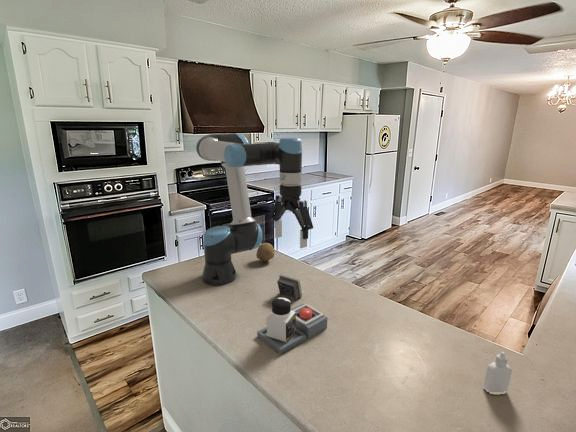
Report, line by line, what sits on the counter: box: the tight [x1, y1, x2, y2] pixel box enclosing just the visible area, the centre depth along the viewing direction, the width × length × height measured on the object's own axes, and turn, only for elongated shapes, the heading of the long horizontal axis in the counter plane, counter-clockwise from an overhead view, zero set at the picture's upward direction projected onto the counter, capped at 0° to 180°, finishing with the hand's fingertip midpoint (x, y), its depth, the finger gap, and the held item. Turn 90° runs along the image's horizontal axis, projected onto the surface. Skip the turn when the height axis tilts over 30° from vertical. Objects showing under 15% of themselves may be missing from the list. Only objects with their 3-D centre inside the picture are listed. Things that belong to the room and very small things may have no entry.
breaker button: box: [299, 308, 312, 321], centre depth 114 cm, size 4×4×4 cm
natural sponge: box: [255, 242, 276, 263], centre depth 165 cm, size 9×9×10 cm
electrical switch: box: [276, 273, 303, 301], centre depth 132 cm, size 9×5×9 cm, turn 57°
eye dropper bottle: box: [483, 351, 513, 392], centre depth 85 cm, size 4×6×12 cm
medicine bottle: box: [266, 297, 296, 342], centre depth 105 cm, size 7×7×12 cm
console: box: [256, 303, 328, 356], centre depth 110 cm, size 12×21×5 cm, turn 131°
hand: (290, 242), depth 118 cm, fingers open, 13 cm apart
